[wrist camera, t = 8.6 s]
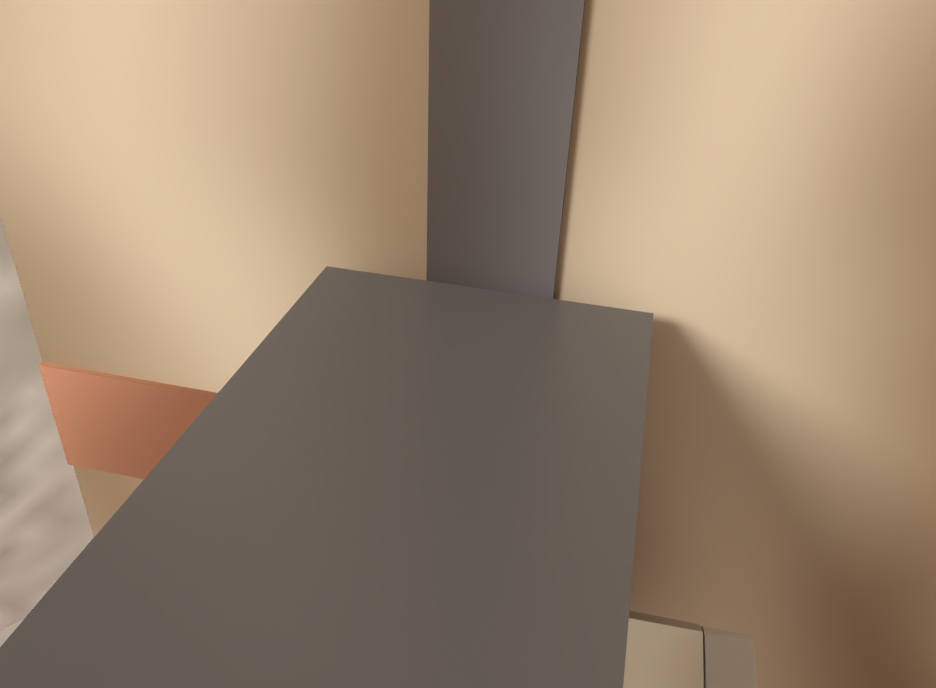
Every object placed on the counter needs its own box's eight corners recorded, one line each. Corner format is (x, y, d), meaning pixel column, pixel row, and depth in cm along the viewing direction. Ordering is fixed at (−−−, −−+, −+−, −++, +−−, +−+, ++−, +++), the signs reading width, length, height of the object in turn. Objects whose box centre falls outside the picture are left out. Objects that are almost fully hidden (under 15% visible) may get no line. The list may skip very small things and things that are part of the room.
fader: (653, 313, 9) (610, 847, 4) (591, 648, 13) (526, 1175, 8) (326, 266, 10) (-29, 680, 5) (346, 594, 13) (140, 1047, 8)
